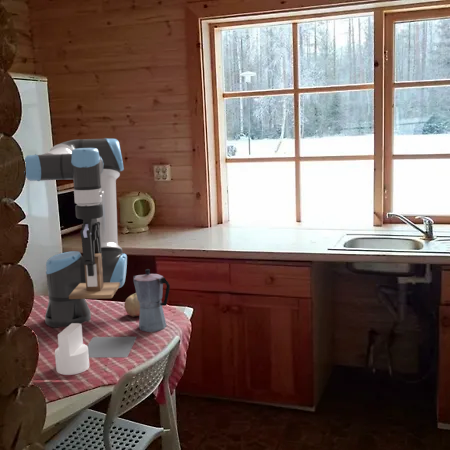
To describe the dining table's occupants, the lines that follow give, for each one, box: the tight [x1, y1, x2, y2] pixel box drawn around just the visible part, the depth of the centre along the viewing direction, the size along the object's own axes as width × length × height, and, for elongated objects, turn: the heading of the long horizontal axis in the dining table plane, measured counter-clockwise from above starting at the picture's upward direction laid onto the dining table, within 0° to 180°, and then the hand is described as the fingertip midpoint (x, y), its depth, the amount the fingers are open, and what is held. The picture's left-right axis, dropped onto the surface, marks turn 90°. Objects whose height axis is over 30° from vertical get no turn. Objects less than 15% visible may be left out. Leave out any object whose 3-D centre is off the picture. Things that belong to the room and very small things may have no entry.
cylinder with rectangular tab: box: [54, 323, 90, 376], centre depth 163 cm, size 9×9×12 cm
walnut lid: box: [69, 253, 120, 300], centre depth 169 cm, size 12×12×11 cm
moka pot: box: [132, 268, 171, 333], centre depth 191 cm, size 10×15×20 cm, turn 59°
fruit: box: [124, 292, 140, 317], centre depth 204 cm, size 8×8×8 cm
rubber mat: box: [87, 336, 138, 359], centre depth 178 cm, size 15×14×1 cm
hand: (94, 283), depth 169 cm, fingers closed on walnut lid, 4 cm apart
